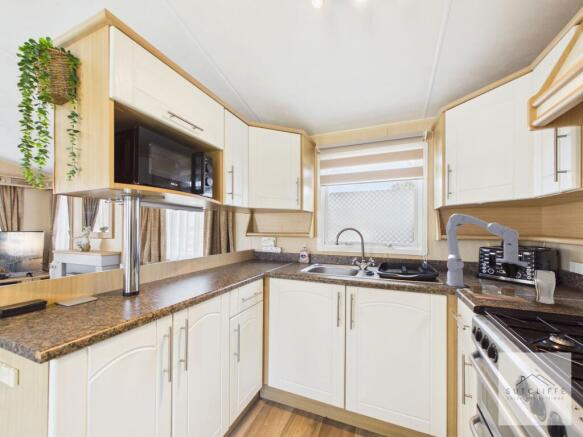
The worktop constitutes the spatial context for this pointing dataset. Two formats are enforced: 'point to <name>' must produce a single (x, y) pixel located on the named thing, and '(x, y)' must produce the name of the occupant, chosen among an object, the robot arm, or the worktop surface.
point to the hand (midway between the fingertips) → (511, 277)
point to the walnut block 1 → (476, 288)
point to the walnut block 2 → (507, 291)
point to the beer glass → (545, 286)
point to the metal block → (491, 289)
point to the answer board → (496, 296)
